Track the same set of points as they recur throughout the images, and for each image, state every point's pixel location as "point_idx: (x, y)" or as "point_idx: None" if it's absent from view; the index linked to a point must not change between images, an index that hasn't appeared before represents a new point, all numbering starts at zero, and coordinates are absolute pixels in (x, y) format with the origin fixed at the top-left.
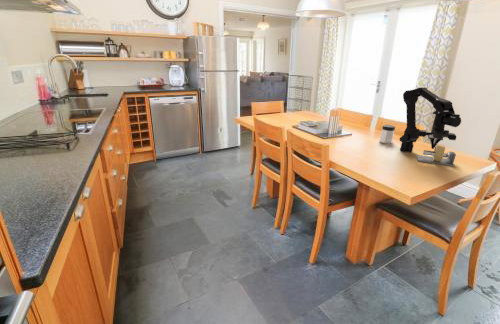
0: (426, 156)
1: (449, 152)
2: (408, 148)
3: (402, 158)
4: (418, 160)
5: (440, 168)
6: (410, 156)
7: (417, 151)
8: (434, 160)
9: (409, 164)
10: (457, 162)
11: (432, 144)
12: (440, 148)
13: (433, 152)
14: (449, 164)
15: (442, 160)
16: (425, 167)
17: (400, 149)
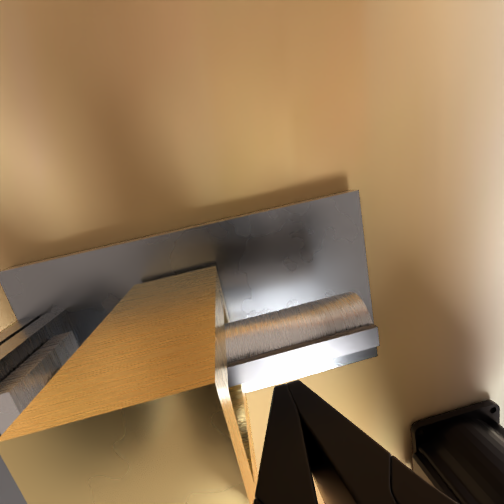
0: (291, 370)
1: None
2: (465, 451)
3: (481, 190)
4: (352, 190)
5: (117, 91)
6: (414, 308)
7: None
8: None
9: (423, 12)
10: None
11: (352, 445)
12: (135, 374)
13: (247, 349)
14: (46, 260)
15: None
16: (265, 11)
17: (498, 426)
